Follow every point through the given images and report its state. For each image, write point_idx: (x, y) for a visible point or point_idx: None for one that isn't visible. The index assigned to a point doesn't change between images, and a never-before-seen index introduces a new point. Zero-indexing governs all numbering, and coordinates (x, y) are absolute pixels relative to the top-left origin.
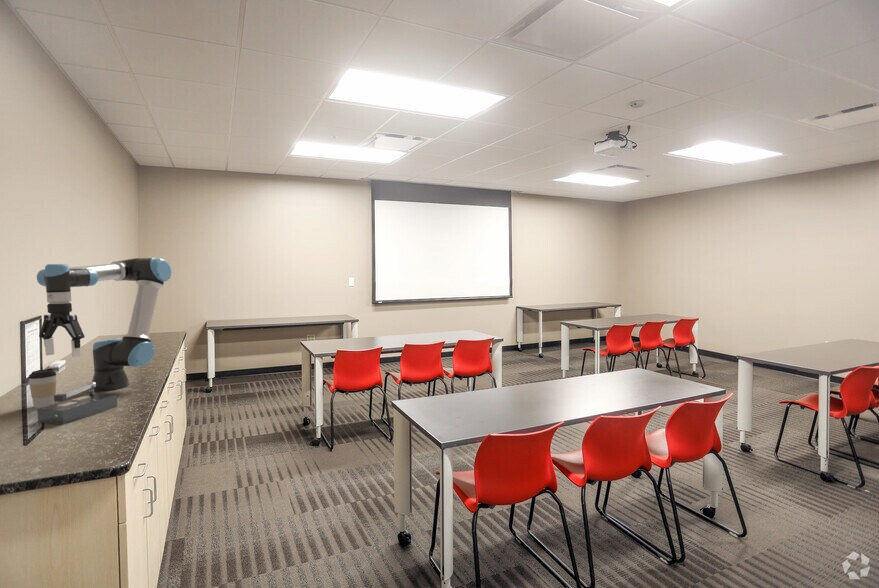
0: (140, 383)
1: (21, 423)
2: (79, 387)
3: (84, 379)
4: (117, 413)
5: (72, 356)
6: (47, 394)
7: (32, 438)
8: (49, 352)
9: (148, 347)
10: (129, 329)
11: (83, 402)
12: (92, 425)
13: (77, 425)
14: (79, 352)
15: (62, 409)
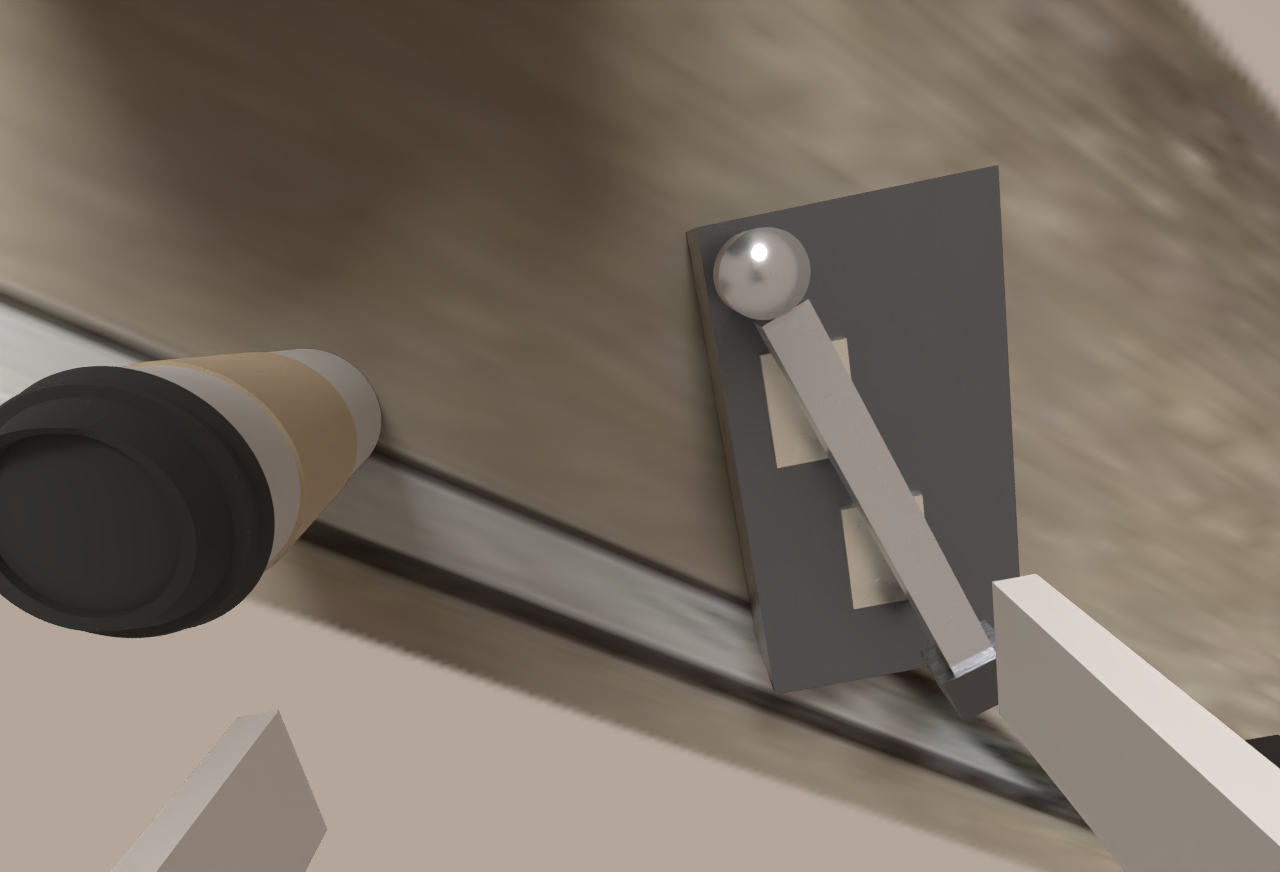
0: None
1: (682, 687)
2: (848, 447)
3: None
4: (1121, 304)
5: (1013, 716)
6: (349, 455)
7: (1052, 780)
8: (279, 840)
9: None
10: None
11: (950, 462)
12: (1189, 536)
13: (1087, 573)
14: (1082, 627)
15: None
